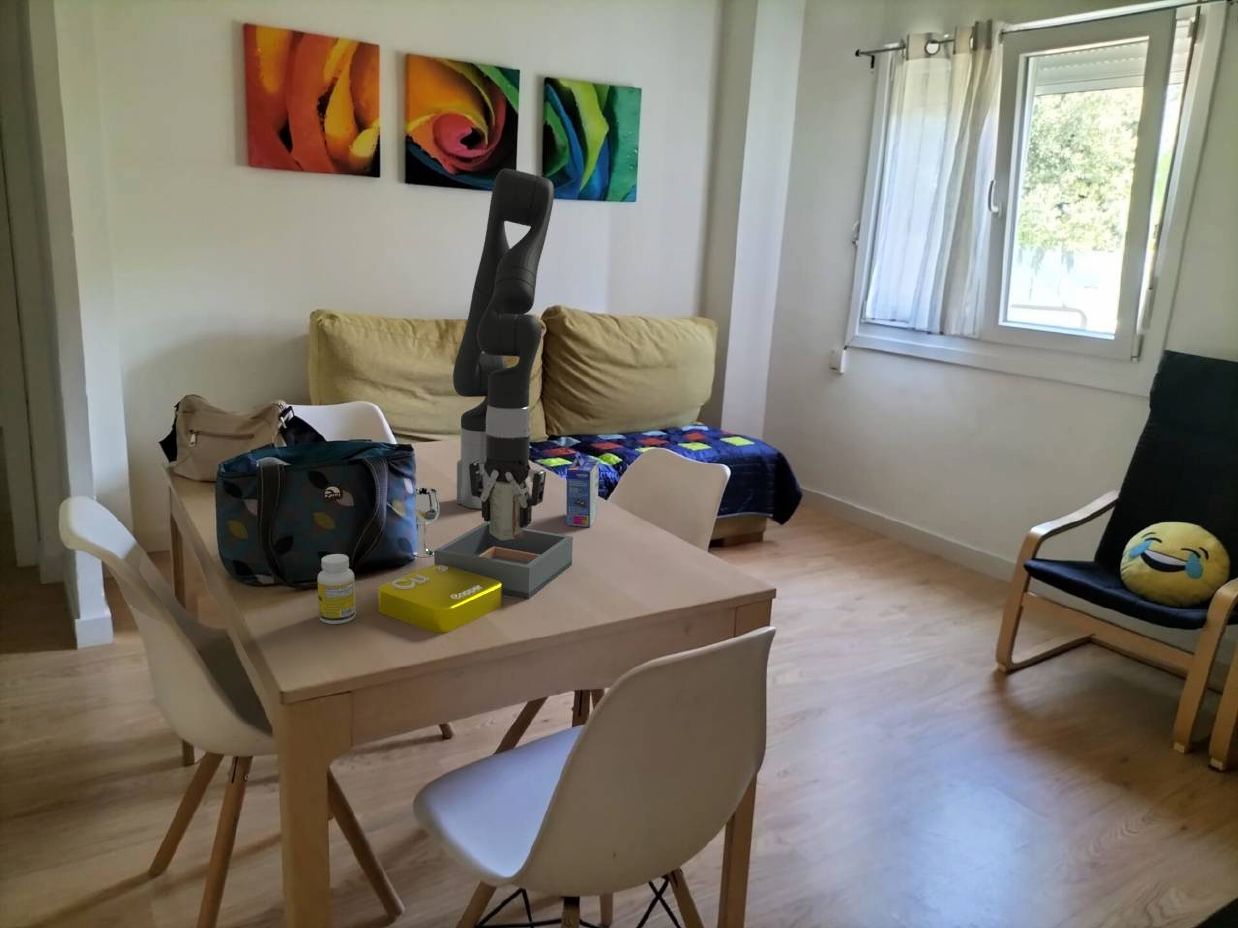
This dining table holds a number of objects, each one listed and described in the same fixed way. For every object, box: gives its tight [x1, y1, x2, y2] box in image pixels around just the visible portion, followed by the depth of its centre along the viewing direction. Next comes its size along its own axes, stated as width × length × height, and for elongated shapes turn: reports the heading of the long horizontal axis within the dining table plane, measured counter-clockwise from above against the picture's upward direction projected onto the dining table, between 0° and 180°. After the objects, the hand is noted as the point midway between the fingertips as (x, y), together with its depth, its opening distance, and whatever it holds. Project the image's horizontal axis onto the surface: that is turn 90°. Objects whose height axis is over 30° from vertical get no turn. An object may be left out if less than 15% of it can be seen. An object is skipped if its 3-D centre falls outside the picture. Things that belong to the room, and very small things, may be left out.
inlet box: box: [433, 521, 574, 600], centre depth 164 cm, size 18×18×6 cm
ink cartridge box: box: [566, 451, 599, 528], centre depth 195 cm, size 10×6×14 cm, turn 172°
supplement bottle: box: [317, 553, 356, 625], centre depth 142 cm, size 5×5×10 cm
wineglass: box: [415, 487, 441, 558], centre depth 171 cm, size 6×6×12 cm
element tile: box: [377, 563, 503, 634], centre depth 148 cm, size 15×15×5 cm
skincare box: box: [489, 481, 523, 540], centre depth 162 cm, size 5×4×10 cm
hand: (506, 523), depth 163 cm, fingers closed on skincare box, 6 cm apart
